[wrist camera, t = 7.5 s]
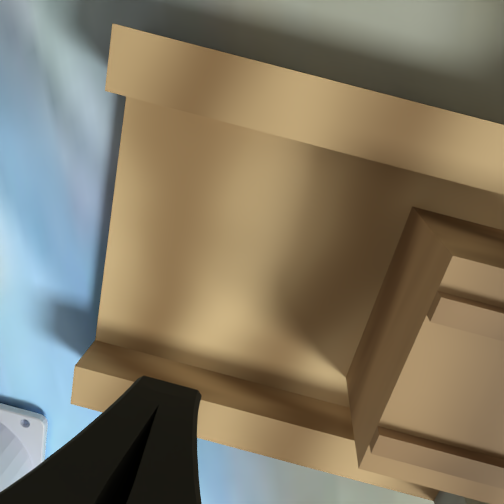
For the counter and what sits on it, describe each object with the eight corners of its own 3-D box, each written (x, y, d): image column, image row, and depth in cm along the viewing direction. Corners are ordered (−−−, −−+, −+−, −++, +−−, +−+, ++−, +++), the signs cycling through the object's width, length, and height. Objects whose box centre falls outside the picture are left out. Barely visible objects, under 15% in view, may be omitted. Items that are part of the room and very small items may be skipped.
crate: (346, 377, 20) (359, 478, 15) (412, 206, 17) (457, 261, 12) (479, 412, 20) (537, 525, 15) (569, 247, 17) (680, 319, 12)
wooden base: (96, 367, 22) (9, 489, 16) (157, -95, 15) (45, -224, 9) (486, 471, 22) (564, 640, 15) (733, 53, 15) (1069, 37, 8)
